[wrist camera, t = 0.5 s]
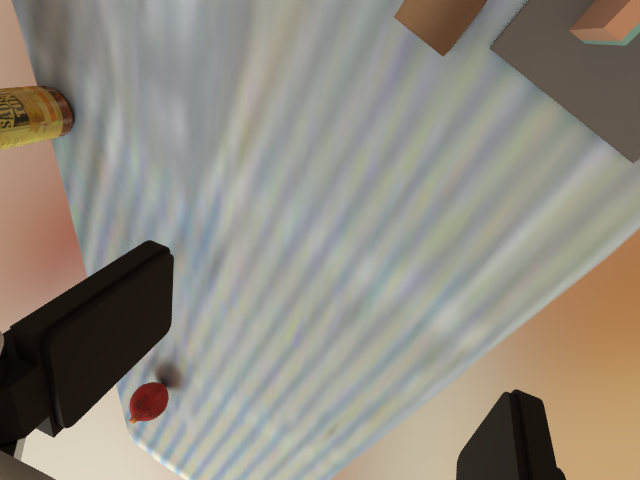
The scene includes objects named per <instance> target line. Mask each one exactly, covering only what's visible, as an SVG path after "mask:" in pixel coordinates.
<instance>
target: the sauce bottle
mask: <svg viewBox="0 0 640 480" xmlns="http://www.w3.org/2000/svg"><path fill="white" fill-rule="evenodd" d="M72 125H73V116H72V112H71V109H70V107H69V105H68V103H67V101H66V100H65V98H64V97H63V96H62V95H61V94H60V93H59V92H57V91H56V90H54V89H52V88H48V87H45V86H41V87H38V86H29V87H17V88H5V89H0V150H1V149H6V148H11V147H16V146H21V145H25V144H30V143H35V142H40V141H45V140H49V139H54V138H56V137H59V136H64V135H65V134H67V133H69V132H70V131H71V128H72Z"/></svg>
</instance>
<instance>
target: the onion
mask: <svg viewBox="0 0 640 480" xmlns="http://www.w3.org/2000/svg"><path fill="white" fill-rule="evenodd" d="M168 399H169V398H168V391H167V389H166V386H165V385H164V384H162V383H156V382H151V383H147V384H144V385H142V386H141V387H139V388H138V389H137V390H136V391H135V393H134V394H133V395H132V397H131V400H130V413H131V419H129V421H130V423H131V424H134V423H135V422H137V421H150V420H153V419H155V418H156V417H158V416H159V415H160V414H161V413H162V412H163V411H164V410H165V408H166V407H167V403H168Z"/></svg>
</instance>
